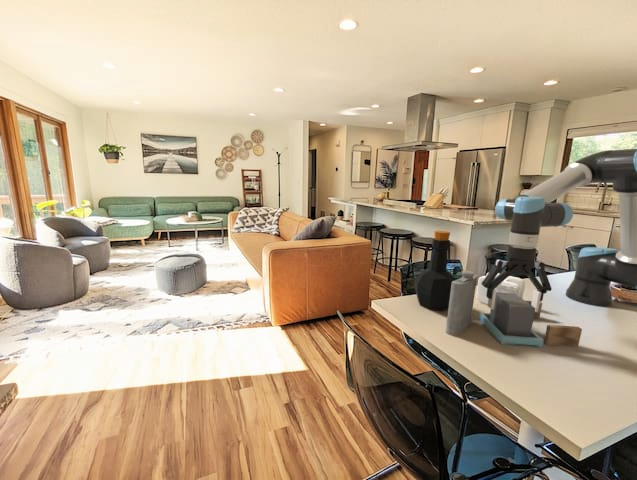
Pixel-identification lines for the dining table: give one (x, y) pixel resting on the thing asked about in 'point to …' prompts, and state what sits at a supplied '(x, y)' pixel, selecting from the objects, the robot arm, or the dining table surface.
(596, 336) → the dining table surface
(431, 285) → the bottle
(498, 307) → the grey rectangular block
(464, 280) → the hip flask
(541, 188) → the robot arm
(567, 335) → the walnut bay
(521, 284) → the cable organizer
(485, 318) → the teal tray
